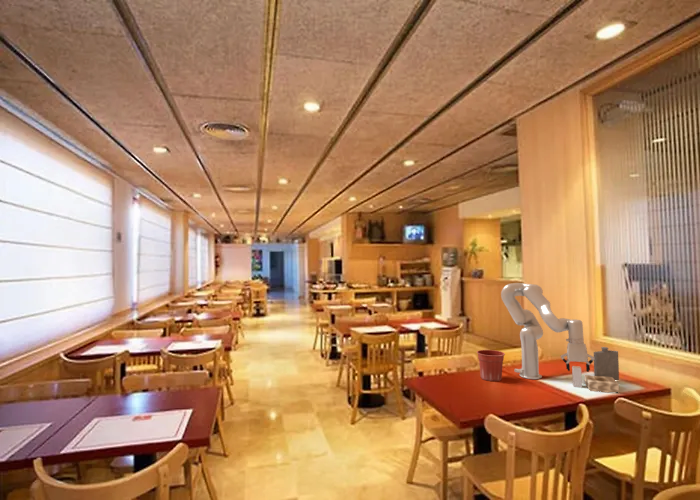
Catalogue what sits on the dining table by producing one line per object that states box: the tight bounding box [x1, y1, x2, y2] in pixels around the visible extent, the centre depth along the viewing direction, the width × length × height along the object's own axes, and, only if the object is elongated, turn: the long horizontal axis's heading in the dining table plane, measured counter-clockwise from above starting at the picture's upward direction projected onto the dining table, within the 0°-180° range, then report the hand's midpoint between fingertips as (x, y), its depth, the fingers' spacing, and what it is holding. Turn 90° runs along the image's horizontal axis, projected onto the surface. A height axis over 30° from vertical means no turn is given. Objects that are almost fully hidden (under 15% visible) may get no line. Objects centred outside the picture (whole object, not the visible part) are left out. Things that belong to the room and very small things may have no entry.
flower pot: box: [476, 349, 506, 382], centre depth 247 cm, size 16×16×16 cm
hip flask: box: [593, 346, 620, 381], centre depth 239 cm, size 16×4×20 cm, turn 100°
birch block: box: [584, 374, 620, 394], centre depth 225 cm, size 14×14×5 cm
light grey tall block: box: [571, 365, 583, 388], centre depth 230 cm, size 4×4×11 cm
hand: (578, 371), depth 229 cm, fingers open, 9 cm apart
